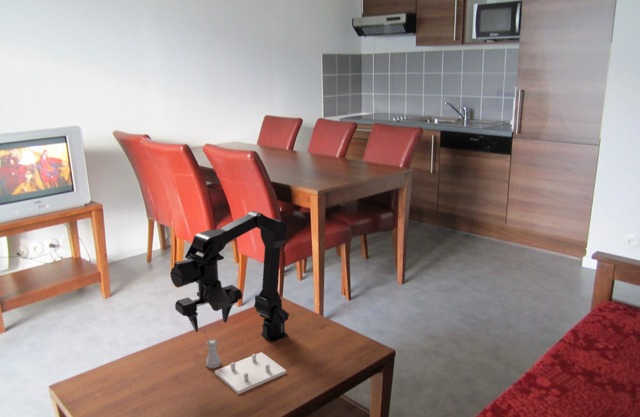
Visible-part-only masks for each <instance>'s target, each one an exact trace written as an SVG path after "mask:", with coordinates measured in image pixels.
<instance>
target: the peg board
mask: <svg viewBox="0 0 640 417" xmlns="http://www.w3.org/2000/svg"><path fill="white" fill-rule="evenodd" d="M214 374H215V375H216V376H217V377H218V378H219V379H220V380H221V381H223V382H224V383H225V384H226V385H227V386H228V387H230V388H231V389H232V390H233V391H234V392H235V393H236V395H240V394H242V393H245V392H248V391H250V390H251V389H252V390H253V388H256V387H258V386H261V385H263V384H264V383H265V384H266V383H267V382H269V381H271V380H274V379H276V378H279V377H281V376H283V375H286V374H287V370H286V369H285V368H284V367H283V366H281V365H279V364H278V363H277V362H276V361H274V360H273V359H271V358H270V357H269V356H267V355H266V354H265V353H263V352H259V353H253V354H251V355H250V356H248V357H245V358H243V359H240V360H238V361H236V362H235V361H233V362H230V364H228V365H226V366H223V367H221V368H219V369H216V370H214Z"/></svg>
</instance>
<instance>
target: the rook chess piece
mask: <svg viewBox="0 0 640 417" xmlns="http://www.w3.org/2000/svg"><path fill="white" fill-rule="evenodd" d="M218 344H219V342H218V341H217V340H216V338H211V339H208V340H207V343H206V346H207V347H208V348H207V351H208V355H207V357H206V360H205V365H206V367H207V368H208V369H217V368H219V367H220V366H221V364H222V360H221V358H220V356H219V355H218V354H219V353H218Z"/></svg>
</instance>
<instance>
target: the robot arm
mask: <svg viewBox="0 0 640 417" xmlns="http://www.w3.org/2000/svg"><path fill="white" fill-rule="evenodd" d="M256 228H257V229H259V230H260V231H259V232H260V238H261V240H262V244H263V245H264V255H263V257H264V258H263V270H262V271H263V273H262V288H261V290H260V292H259V294H255V296H254V305H253V307H254V308H255V312H257V314H259V317H260V318H263V320H262V321H263V323H262V332H261V336H262V337H264V338H265V339H266V340H268V341H270V342H275V341H278V340H280V339H283V338H286V337H288V335H289V334H288V333H286V329H285V326H286V325H285V323H286V321H288V320H289V316H290V314H289V312H287V311H286V310H285V309H283V302H282V301H283V300H282V297H281V296H280V293H279V277H280V263H281V262H280V259H281V248H282V247H283V245H284V243H285V242H286V239H287V236H288V228H289V227H288V224H287V223H286V222H285V221H283V220H279V219H276V218H272V217H269V216H266V215H264V214H263V213H261V212H258V211H255V210H251V211H249V212H247V214H245V215H243V216H241V217H239V218H237V219H235V220H233V221H231V222H229V223H227V224H225V225H223V226H222V227H220V228H217V229H209V230H205V231H201V232H198V233H196V234H195V235H194V236H193V240H192V242H191V245H190V246H189V248H188V250H187V252H186V254H185V256H184V257H185V258H186V259H184V260H181V261H179V260H178V261H176V262H175V261H174V263H173V267H172V268H171V270H170V278H171V282H172V283H173V284H172V285H174V286H175V288H181V287H184V286H187V285H190V284H194V283H196V284H198V285H197V286H198V287H197V288H198V291H197V292H196V296H197V297H198V299H191V298H190V297H184V298H182V299H178V300H176V302H175V304H174V306H175V310H176V311H177V312H178V313H179V314H180V315H182V316H183V317H187V318H188V320H189V323H190V324H191V326H192V327H193V329H194V331H195V332H196V333H198V331H199V325H198V315H199V312H197V311H198V307H200V306H203V305H207V304H209V306H210V307H211V309H212V310H213V311H214V312H218V311H220V310H221V314H222V317H221V318H222V322H223V323H225V324H226V323H227V321H228V318H229V316H230V312H231V309H232V307H233V306H234V305H235V304H237V303H238V302H239V300H240V301H241V300H242V299H243V293H242V290H241V289H239V288H238V287H237V286H235V285H233V284H230V285H227V286H222V283H221V280H220V279H219V266H218V262H219V261H223V260H224V259H225V257H224V256H223V255H221V254H220V253H221V252H222V251H223V250H224V249H225V247H226V246H227V244H228V243H230V242H232V241H234V240H235V239H237V238H239V237H241V236H242V235H245V234H247V233H248V232H250V231H252V230H254V229H256ZM197 253H199V254H202V256H201V255H199V254H197Z"/></svg>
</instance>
